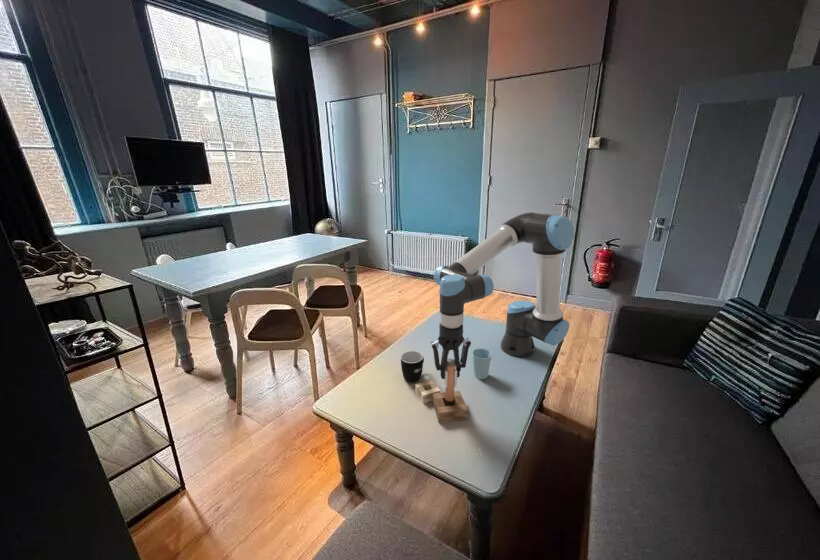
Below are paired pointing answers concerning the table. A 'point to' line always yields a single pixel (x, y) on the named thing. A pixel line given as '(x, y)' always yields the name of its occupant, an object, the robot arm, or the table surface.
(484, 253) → the robot arm
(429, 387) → the bead beech
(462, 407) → the brown wooden square frame
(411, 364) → the mug
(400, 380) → the table surface
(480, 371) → the cup
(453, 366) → the dowel
